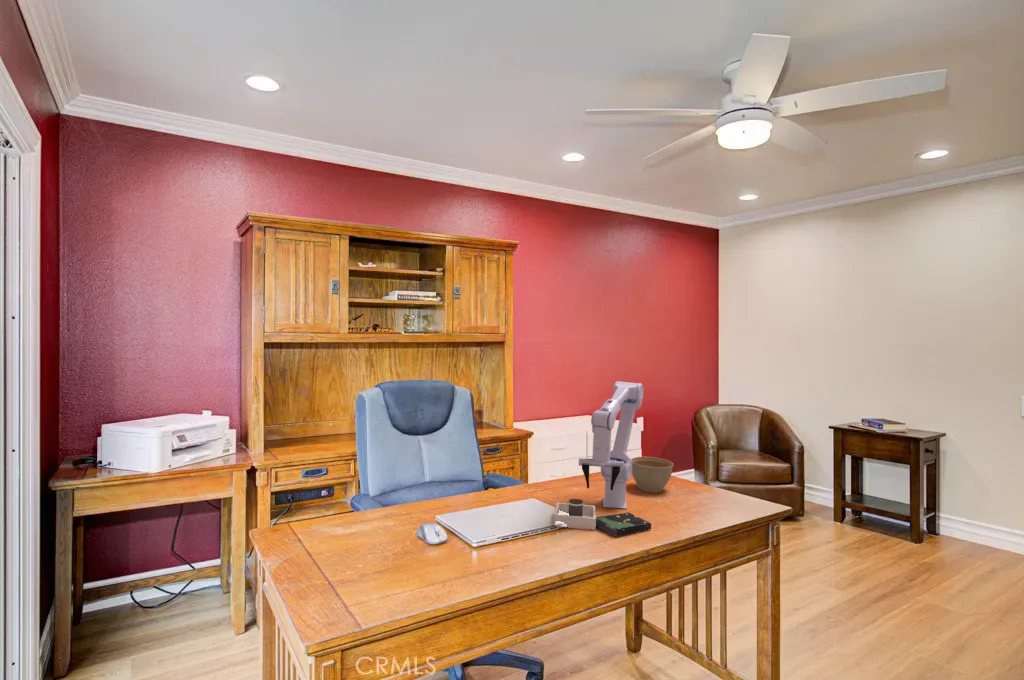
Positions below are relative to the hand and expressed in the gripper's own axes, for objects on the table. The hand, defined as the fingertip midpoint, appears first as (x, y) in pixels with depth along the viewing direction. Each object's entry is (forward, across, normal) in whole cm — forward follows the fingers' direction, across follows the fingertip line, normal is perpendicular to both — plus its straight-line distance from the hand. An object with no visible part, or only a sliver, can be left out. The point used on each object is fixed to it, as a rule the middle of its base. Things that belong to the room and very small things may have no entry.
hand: (599, 488), depth 185 cm
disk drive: (+10, +7, -9) cm, 15 cm away
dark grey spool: (+9, -8, -6) cm, 13 cm away
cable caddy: (+9, -8, -6) cm, 13 cm away
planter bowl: (+10, +21, +37) cm, 44 cm away
